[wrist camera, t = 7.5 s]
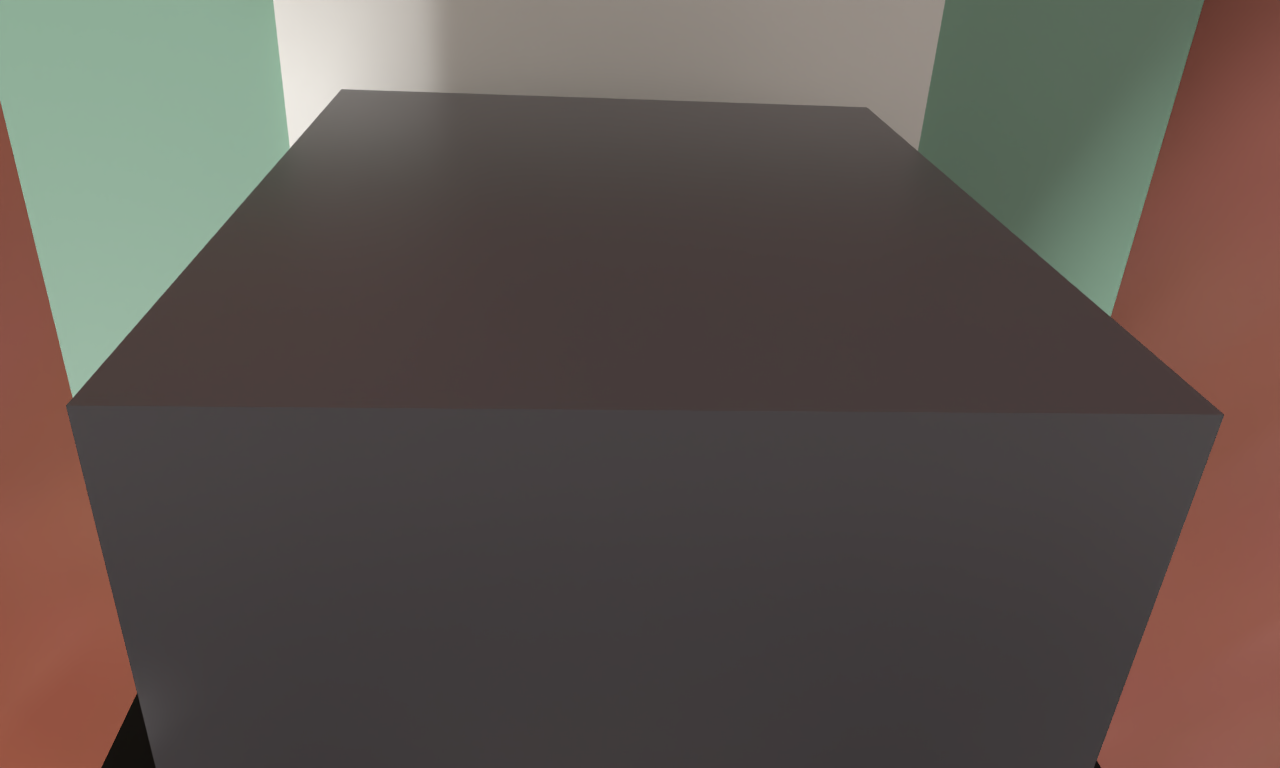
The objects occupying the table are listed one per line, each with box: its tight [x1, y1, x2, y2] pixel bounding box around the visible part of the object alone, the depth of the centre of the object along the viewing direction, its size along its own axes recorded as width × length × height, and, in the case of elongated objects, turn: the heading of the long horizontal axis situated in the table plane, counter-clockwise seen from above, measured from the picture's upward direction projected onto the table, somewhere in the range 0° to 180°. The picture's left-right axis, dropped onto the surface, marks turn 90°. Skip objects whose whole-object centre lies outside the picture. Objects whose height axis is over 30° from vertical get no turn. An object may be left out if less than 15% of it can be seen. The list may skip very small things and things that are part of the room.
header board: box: [0, 0, 1204, 397], centre depth 12 cm, size 13×13×5 cm
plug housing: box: [66, 89, 1224, 768], centre depth 9 cm, size 5×10×6 cm, turn 177°
